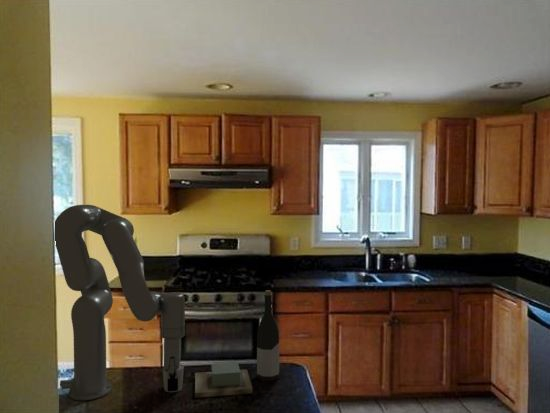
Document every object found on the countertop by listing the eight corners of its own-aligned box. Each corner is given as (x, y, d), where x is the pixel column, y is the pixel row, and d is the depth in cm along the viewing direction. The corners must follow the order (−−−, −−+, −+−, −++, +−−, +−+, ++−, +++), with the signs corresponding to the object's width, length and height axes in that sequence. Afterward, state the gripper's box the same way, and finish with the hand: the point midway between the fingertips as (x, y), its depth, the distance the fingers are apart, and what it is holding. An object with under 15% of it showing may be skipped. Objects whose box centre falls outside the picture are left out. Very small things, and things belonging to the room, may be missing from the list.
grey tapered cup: (185, 383, 146) (185, 363, 146) (182, 393, 139) (181, 371, 139) (165, 384, 146) (165, 363, 145) (160, 393, 139) (160, 371, 139)
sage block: (212, 386, 140) (212, 374, 140) (211, 375, 149) (211, 363, 149) (240, 384, 142) (240, 372, 142) (237, 373, 150) (237, 362, 150)
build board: (195, 397, 136) (195, 392, 136) (195, 377, 151) (195, 372, 151) (252, 393, 139) (252, 388, 139) (246, 373, 155) (246, 368, 155)
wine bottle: (263, 370, 157) (263, 287, 157) (283, 374, 154) (283, 289, 153) (252, 378, 150) (252, 291, 150) (273, 383, 146) (273, 294, 146)
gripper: (163, 324, 150) (163, 376, 150) (159, 340, 133) (159, 399, 133) (185, 323, 151) (185, 374, 151) (184, 338, 134) (184, 397, 134)
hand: (173, 385), depth 142 cm, fingers closed on grey tapered cup, 5 cm apart
